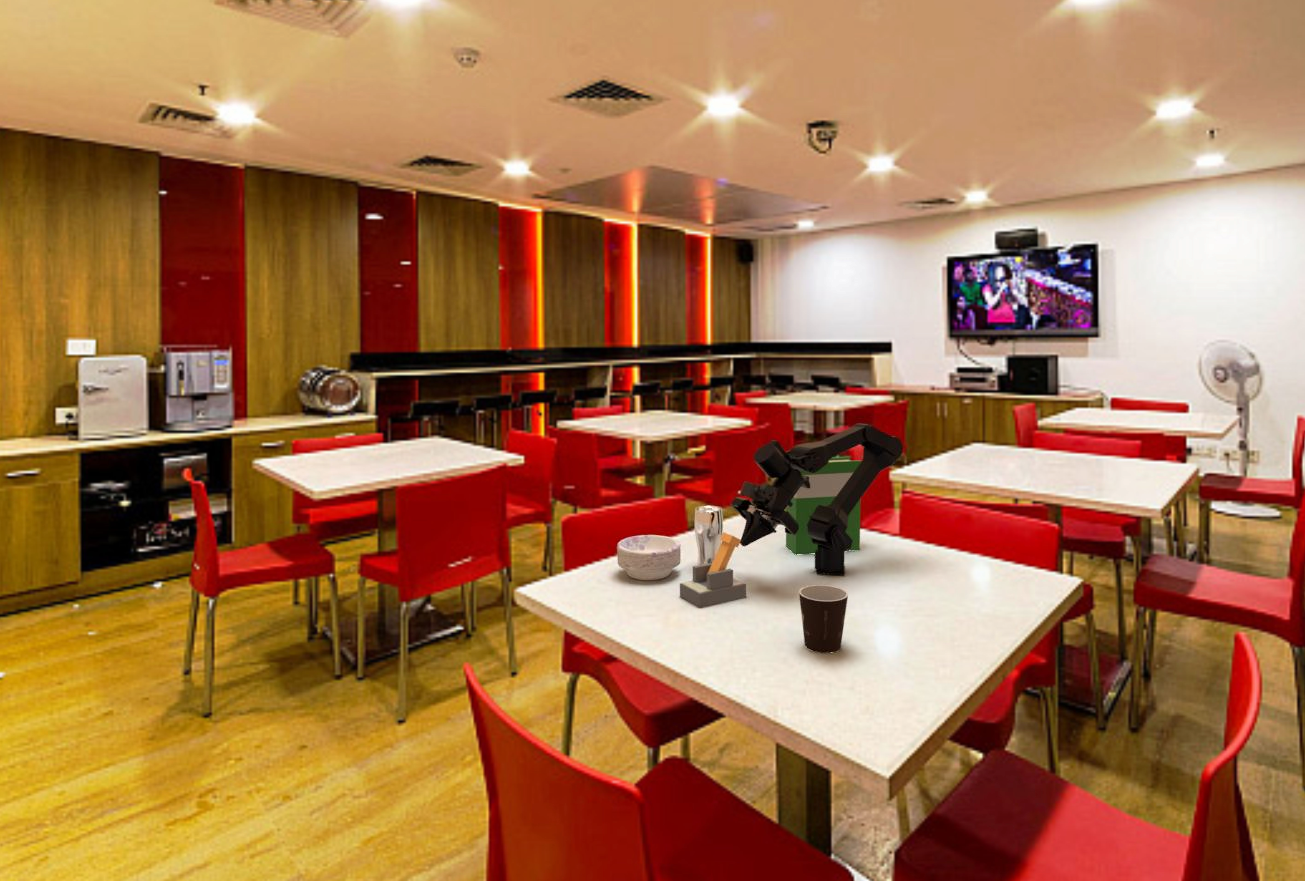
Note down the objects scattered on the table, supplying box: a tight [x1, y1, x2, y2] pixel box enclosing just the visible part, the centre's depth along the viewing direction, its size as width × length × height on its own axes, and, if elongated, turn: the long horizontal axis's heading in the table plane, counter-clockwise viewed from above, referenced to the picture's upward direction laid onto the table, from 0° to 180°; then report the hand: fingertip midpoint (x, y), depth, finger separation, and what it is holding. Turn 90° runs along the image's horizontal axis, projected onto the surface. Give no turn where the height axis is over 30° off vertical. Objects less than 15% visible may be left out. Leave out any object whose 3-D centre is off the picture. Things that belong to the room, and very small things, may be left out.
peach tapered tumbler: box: [694, 505, 724, 566], centre depth 178 cm, size 7×7×15 cm
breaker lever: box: [708, 531, 741, 573], centre depth 159 cm, size 3×4×11 cm
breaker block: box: [679, 563, 747, 609], centre depth 158 cm, size 12×8×6 cm, turn 119°
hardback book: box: [785, 456, 862, 556], centre depth 192 cm, size 18×7×24 cm, turn 99°
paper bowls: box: [616, 534, 682, 581], centre depth 175 cm, size 15×15×8 cm
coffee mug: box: [798, 584, 849, 654], centre depth 130 cm, size 12×9×10 cm
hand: (742, 545), depth 161 cm, fingers closed
